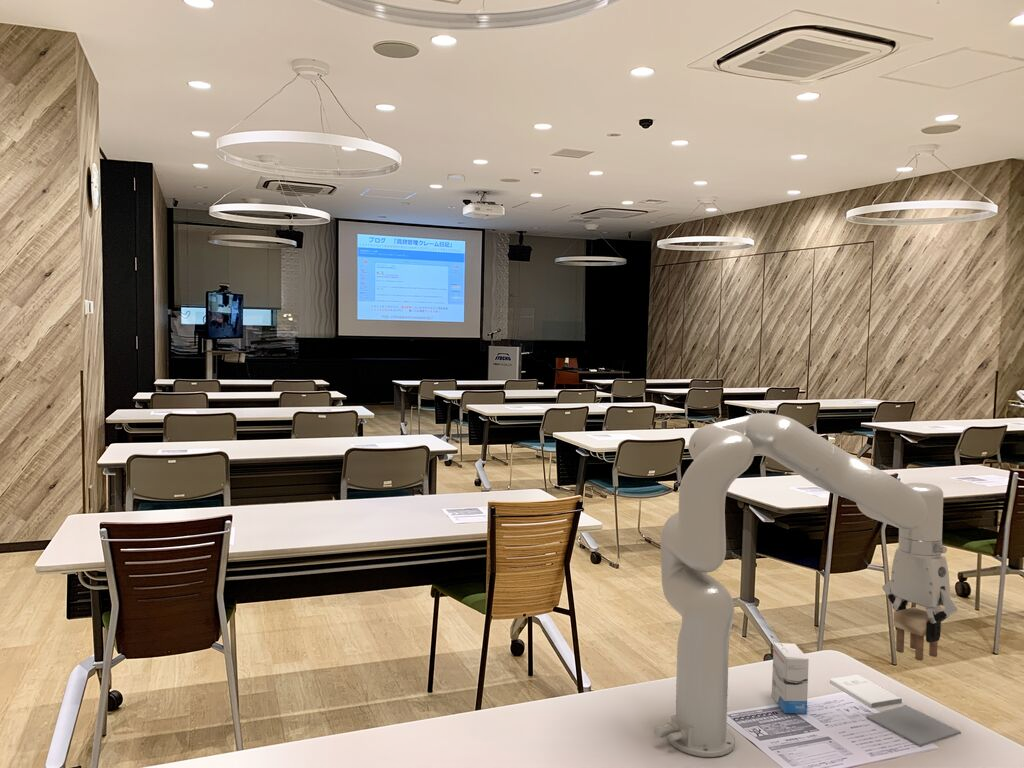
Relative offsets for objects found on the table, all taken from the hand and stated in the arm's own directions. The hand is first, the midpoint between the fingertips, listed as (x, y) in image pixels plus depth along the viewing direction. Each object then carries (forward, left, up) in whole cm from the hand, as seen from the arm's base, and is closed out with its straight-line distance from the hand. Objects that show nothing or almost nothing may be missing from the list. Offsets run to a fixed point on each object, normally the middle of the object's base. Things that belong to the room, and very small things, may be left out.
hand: (917, 634), depth 150 cm
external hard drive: (+3, +14, -19) cm, 24 cm away
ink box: (-16, +17, -19) cm, 30 cm away
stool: (0, 0, -4) cm, 4 cm away
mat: (0, 0, -19) cm, 19 cm away
